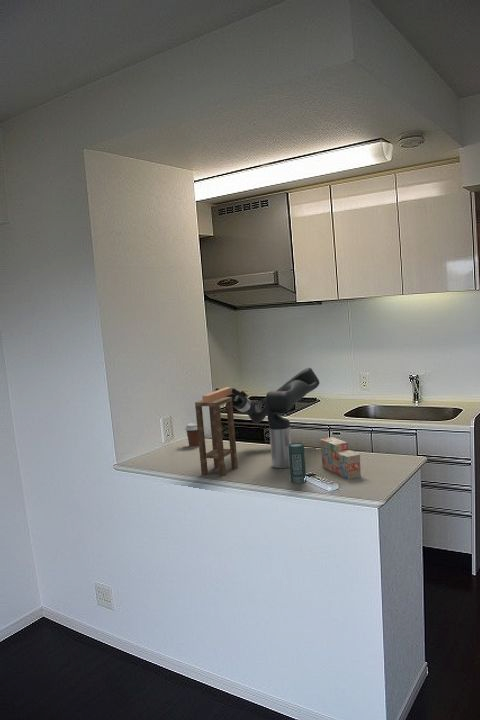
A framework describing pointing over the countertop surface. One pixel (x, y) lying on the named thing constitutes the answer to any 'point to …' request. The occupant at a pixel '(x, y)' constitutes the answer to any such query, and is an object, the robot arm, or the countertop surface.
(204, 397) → the bar
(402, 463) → the countertop surface
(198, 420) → the stool
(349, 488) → the countertop surface
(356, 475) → the stack of blocks
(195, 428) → the coffee cup
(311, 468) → the countertop surface
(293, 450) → the can
